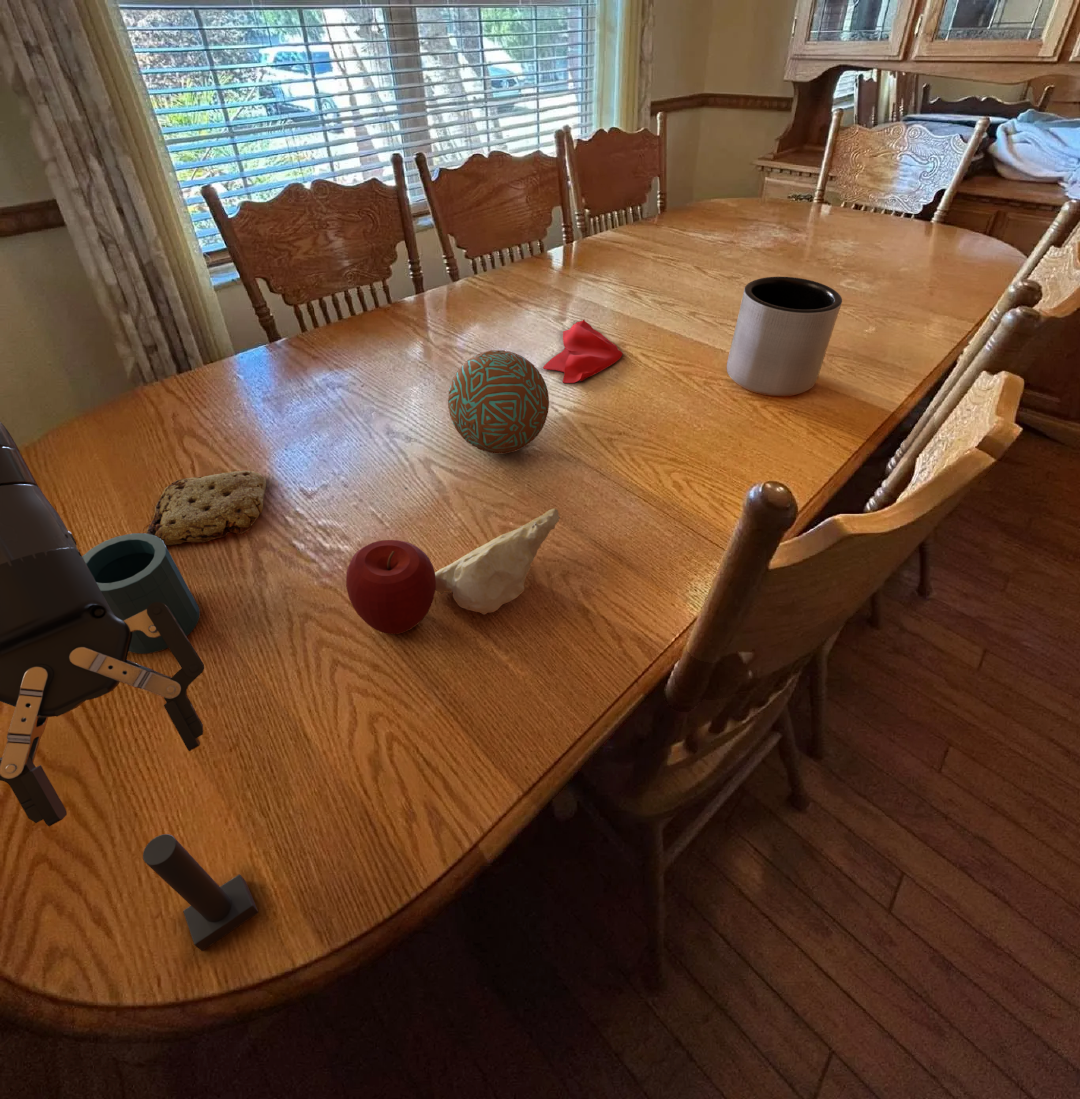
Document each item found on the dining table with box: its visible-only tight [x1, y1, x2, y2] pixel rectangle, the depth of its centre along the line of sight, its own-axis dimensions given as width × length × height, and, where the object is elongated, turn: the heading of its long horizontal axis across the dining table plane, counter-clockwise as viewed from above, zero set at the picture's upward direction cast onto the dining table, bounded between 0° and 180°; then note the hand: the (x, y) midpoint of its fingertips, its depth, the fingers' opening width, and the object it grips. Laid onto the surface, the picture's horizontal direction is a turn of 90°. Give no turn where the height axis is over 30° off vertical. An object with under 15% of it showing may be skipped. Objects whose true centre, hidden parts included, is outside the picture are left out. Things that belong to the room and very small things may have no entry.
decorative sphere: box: [447, 349, 550, 455], centre depth 94 cm, size 15×15×15 cm
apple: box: [345, 539, 436, 635], centre depth 69 cm, size 10×10×10 cm
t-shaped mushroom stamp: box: [142, 833, 259, 952], centre depth 46 cm, size 4×3×13 cm
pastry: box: [145, 469, 267, 547], centre depth 86 cm, size 17×17×3 cm
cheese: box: [435, 507, 561, 615], centre depth 74 cm, size 15×7×15 cm
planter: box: [726, 276, 843, 397], centre depth 110 cm, size 16×16×16 cm
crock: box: [82, 532, 201, 655], centre depth 68 cm, size 9×9×10 cm
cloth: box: [542, 319, 624, 384], centre depth 122 cm, size 26×14×2 cm, turn 164°
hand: (130, 782), depth 43 cm, fingers open, 8 cm apart
